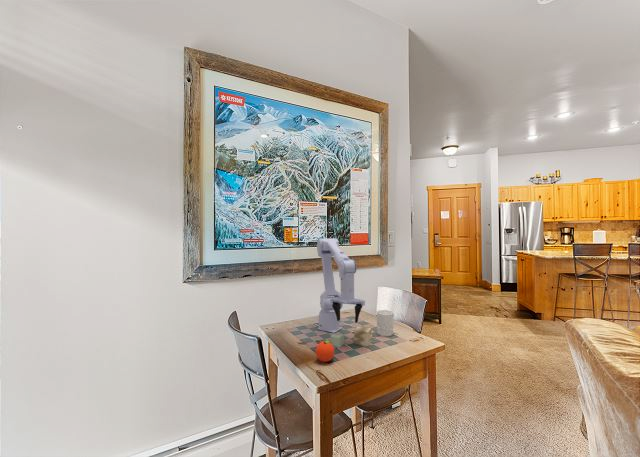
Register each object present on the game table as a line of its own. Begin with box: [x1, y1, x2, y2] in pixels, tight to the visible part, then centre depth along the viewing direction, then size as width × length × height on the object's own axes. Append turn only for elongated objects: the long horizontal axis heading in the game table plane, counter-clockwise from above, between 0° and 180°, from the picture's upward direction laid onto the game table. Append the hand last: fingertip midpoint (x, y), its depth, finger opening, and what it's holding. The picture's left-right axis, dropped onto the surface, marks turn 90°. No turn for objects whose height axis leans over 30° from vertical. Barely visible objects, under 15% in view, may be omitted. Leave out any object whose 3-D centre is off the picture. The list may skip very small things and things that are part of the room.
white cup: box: [375, 309, 395, 337], centre depth 135 cm, size 8×8×10 cm
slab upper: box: [353, 325, 373, 339], centre depth 125 cm, size 6×6×3 cm
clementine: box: [315, 340, 335, 363], centre depth 108 cm, size 8×7×7 cm
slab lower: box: [353, 335, 374, 347], centre depth 125 cm, size 6×6×3 cm
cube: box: [330, 332, 345, 348], centre depth 123 cm, size 4×4×4 cm
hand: (347, 321), depth 123 cm, fingers open, 7 cm apart
